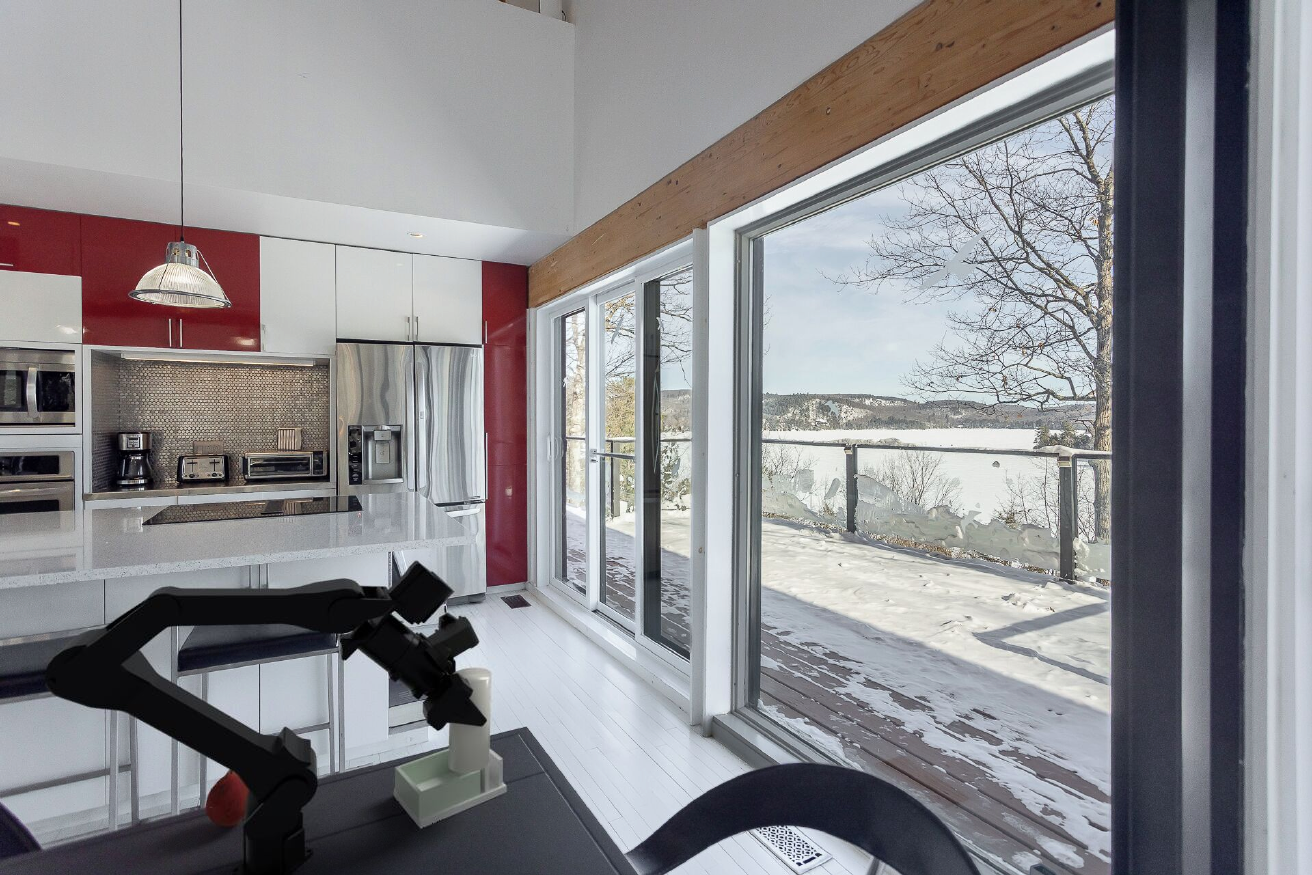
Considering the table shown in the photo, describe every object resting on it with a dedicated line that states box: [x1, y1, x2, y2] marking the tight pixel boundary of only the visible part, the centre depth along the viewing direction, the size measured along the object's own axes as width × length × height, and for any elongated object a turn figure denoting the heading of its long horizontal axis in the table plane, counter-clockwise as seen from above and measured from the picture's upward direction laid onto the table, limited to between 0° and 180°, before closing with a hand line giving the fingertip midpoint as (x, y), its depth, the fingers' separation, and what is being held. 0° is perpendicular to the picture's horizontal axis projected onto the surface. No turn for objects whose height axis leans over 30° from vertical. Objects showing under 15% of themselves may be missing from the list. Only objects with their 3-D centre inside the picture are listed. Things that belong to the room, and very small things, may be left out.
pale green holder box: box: [393, 748, 508, 829], centre depth 94 cm, size 13×10×5 cm
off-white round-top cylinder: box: [448, 667, 492, 773], centre depth 90 cm, size 6×6×12 cm
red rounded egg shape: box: [205, 769, 248, 827], centre depth 86 cm, size 6×6×8 cm
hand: (479, 714), depth 91 cm, fingers closed on off-white round-top cylinder, 6 cm apart
